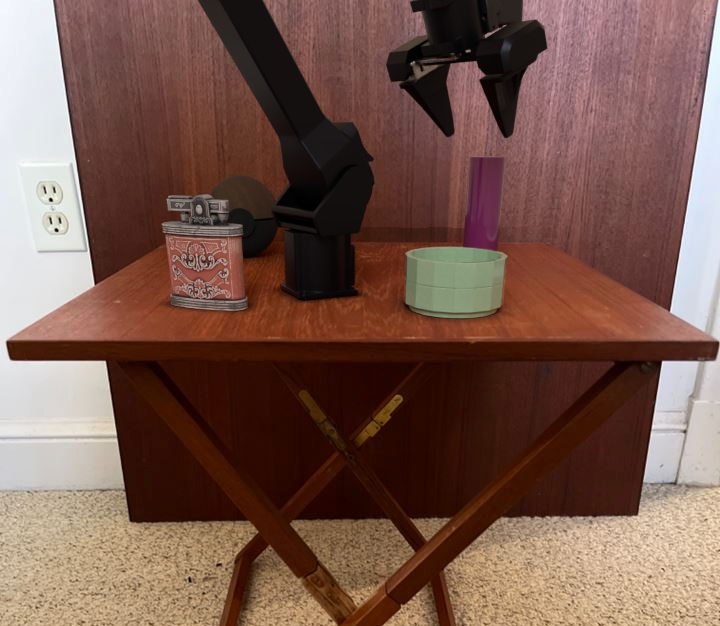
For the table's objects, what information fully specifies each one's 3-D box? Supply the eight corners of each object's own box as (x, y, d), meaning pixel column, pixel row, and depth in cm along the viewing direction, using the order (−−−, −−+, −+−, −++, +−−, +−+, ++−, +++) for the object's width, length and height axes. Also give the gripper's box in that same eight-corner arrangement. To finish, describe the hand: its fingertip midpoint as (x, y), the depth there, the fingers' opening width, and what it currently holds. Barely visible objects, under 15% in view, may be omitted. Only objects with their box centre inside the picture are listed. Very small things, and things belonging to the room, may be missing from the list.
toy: (205, 263, 89) (197, 178, 85) (213, 251, 98) (206, 173, 93) (279, 262, 90) (275, 178, 85) (281, 250, 99) (277, 173, 94)
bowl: (436, 323, 62) (440, 266, 60) (387, 302, 70) (388, 250, 67) (522, 313, 66) (528, 258, 64) (465, 294, 73) (469, 244, 71)
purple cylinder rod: (474, 266, 88) (483, 157, 82) (455, 261, 91) (462, 156, 86) (503, 264, 90) (513, 156, 84) (483, 259, 93) (491, 155, 88)
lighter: (254, 304, 69) (247, 194, 64) (238, 312, 66) (229, 197, 61) (182, 298, 71) (171, 192, 66) (164, 305, 68) (150, 194, 64)
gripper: (572, -75, 65) (593, 102, 74) (438, -40, 78) (470, 105, 88) (490, -28, 61) (522, 151, 71) (364, 0, 75) (406, 147, 85)
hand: (478, 136), depth 79 cm, fingers open, 9 cm apart
